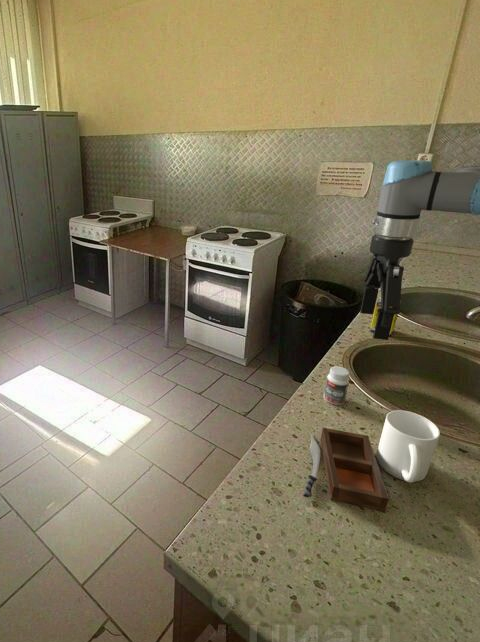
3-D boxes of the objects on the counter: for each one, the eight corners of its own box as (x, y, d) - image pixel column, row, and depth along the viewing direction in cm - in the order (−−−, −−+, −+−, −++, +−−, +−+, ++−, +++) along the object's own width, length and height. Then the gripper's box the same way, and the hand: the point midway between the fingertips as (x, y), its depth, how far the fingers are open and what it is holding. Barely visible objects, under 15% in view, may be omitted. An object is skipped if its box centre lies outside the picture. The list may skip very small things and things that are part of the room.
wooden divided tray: (365, 448, 82) (368, 435, 81) (385, 513, 68) (389, 499, 67) (320, 439, 85) (322, 427, 84) (330, 500, 71) (333, 486, 70)
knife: (316, 503, 70) (317, 499, 70) (301, 498, 71) (302, 494, 71) (321, 435, 86) (322, 431, 86) (309, 431, 87) (309, 428, 87)
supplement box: (390, 337, 126) (398, 305, 122) (369, 331, 130) (376, 301, 126) (394, 330, 130) (401, 300, 126) (373, 325, 134) (380, 295, 130)
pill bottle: (321, 401, 97) (327, 372, 94) (324, 391, 101) (330, 363, 98) (343, 407, 94) (349, 378, 91) (345, 397, 98) (352, 368, 95)
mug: (435, 505, 69) (451, 460, 66) (379, 489, 73) (392, 445, 69) (421, 458, 79) (434, 416, 76) (373, 446, 83) (383, 405, 79)
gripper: (361, 223, 96) (345, 303, 104) (388, 250, 74) (366, 348, 82) (396, 224, 94) (378, 306, 102) (435, 252, 72) (408, 353, 80)
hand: (373, 325), depth 92 cm, fingers open, 13 cm apart
